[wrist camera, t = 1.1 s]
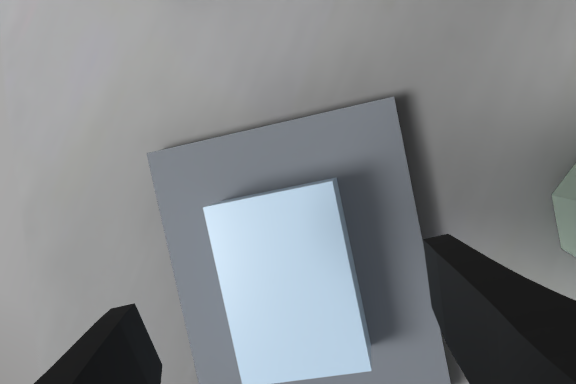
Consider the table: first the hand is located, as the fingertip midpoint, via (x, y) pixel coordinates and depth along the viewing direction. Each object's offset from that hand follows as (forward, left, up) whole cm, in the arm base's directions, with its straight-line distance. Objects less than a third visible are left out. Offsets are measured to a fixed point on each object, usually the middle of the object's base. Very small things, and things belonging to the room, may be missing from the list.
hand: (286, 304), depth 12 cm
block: (-2, +2, -11) cm, 11 cm away
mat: (-2, +2, -12) cm, 12 cm away
